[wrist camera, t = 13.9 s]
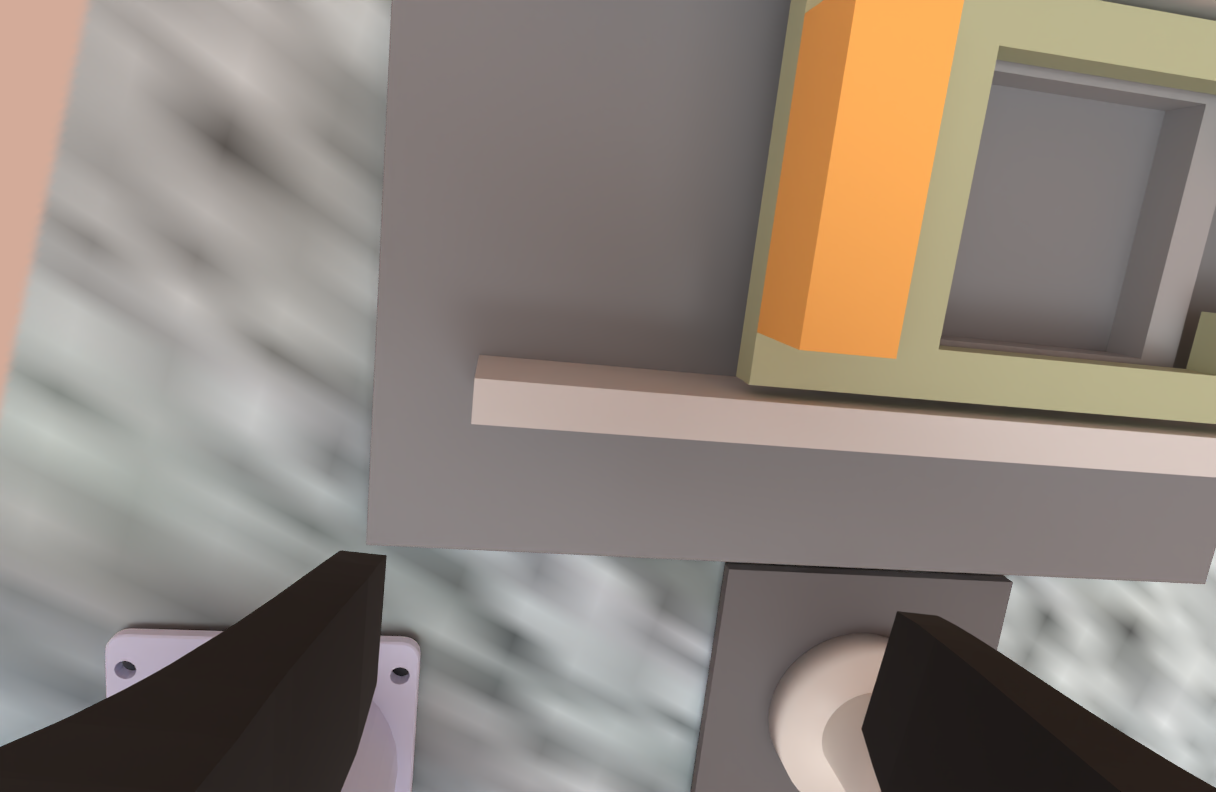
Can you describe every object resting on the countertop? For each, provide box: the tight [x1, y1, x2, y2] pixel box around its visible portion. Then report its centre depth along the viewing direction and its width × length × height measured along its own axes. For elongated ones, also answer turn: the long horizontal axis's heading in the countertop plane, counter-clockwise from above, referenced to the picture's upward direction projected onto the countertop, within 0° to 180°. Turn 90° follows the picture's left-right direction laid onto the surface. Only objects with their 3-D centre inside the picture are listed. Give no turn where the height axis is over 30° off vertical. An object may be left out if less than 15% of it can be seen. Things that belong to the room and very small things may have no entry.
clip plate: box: [736, 0, 1216, 424], centre depth 17 cm, size 9×19×4 cm, turn 84°
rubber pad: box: [691, 563, 1013, 792], centre depth 24 cm, size 9×9×1 cm
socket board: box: [366, 0, 1216, 584], centre depth 18 cm, size 20×25×4 cm
